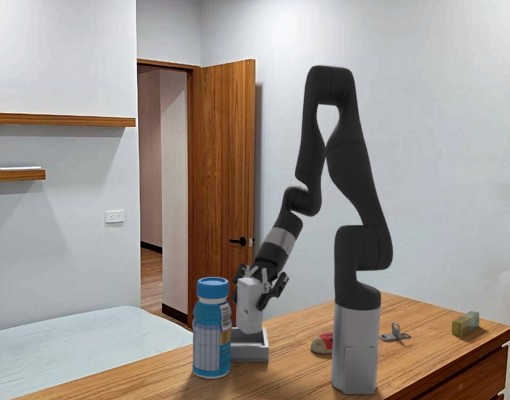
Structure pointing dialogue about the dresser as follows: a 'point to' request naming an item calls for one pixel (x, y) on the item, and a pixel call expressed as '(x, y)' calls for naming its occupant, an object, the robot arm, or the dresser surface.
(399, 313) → the dresser surface
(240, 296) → the skincare box
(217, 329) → the beverage bottle
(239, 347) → the gray open square tray
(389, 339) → the strap clip
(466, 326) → the medication box
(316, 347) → the ladybug figurine
